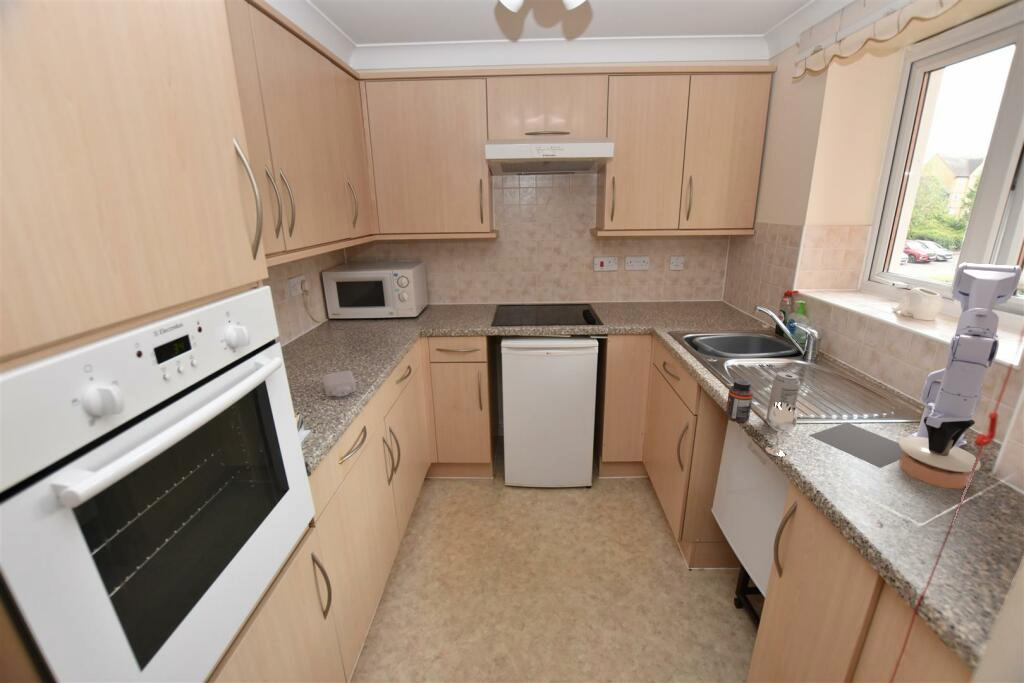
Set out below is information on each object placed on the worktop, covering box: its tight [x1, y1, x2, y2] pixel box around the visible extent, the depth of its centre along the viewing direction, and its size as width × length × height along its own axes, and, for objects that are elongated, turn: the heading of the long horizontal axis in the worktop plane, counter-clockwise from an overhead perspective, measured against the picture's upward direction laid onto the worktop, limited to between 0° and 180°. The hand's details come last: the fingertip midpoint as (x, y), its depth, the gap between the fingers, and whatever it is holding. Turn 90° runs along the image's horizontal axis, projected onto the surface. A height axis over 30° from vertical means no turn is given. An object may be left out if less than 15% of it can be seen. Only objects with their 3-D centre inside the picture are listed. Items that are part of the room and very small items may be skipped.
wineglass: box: [765, 402, 798, 457], centre depth 104 cm, size 6×6×12 cm
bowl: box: [898, 451, 971, 490], centre depth 96 cm, size 11×11×4 cm
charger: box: [322, 370, 357, 398], centre depth 142 cm, size 5×9×15 cm
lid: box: [898, 435, 982, 472], centre depth 95 cm, size 13×13×4 cm
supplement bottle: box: [725, 378, 754, 423], centre depth 121 cm, size 6×6×11 cm
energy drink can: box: [765, 371, 801, 427], centre depth 116 cm, size 6×6×15 cm
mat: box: [808, 422, 902, 469], centre depth 109 cm, size 16×16×1 cm
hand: (940, 449), depth 95 cm, fingers closed on lid, 3 cm apart
